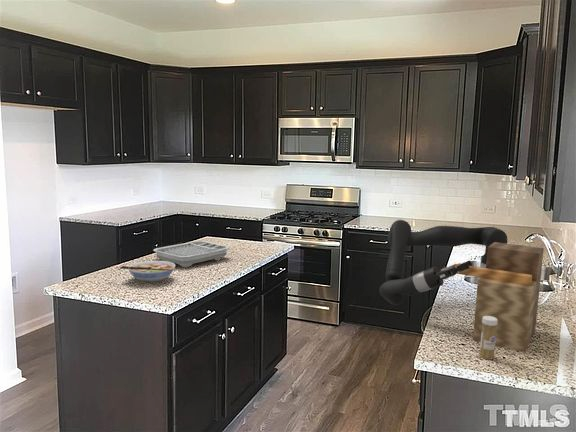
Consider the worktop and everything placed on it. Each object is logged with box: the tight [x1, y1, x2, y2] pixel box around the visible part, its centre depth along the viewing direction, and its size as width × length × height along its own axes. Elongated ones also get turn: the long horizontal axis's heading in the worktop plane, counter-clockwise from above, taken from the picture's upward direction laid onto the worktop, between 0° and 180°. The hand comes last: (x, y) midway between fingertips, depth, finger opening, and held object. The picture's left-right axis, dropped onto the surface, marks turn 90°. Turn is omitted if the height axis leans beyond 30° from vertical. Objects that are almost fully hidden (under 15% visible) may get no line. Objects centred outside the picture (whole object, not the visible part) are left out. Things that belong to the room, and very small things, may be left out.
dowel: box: [452, 263, 532, 285], centre depth 169 cm, size 26×3×3 cm, turn 55°
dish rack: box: [153, 240, 230, 268], centre depth 276 cm, size 32×37×8 cm
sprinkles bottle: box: [478, 316, 498, 360], centre depth 154 cm, size 5×5×14 cm
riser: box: [472, 242, 545, 353], centre depth 172 cm, size 17×24×32 cm
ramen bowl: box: [119, 260, 177, 284], centre depth 232 cm, size 25×23×8 cm
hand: (469, 264), depth 173 cm, fingers open, 3 cm apart
